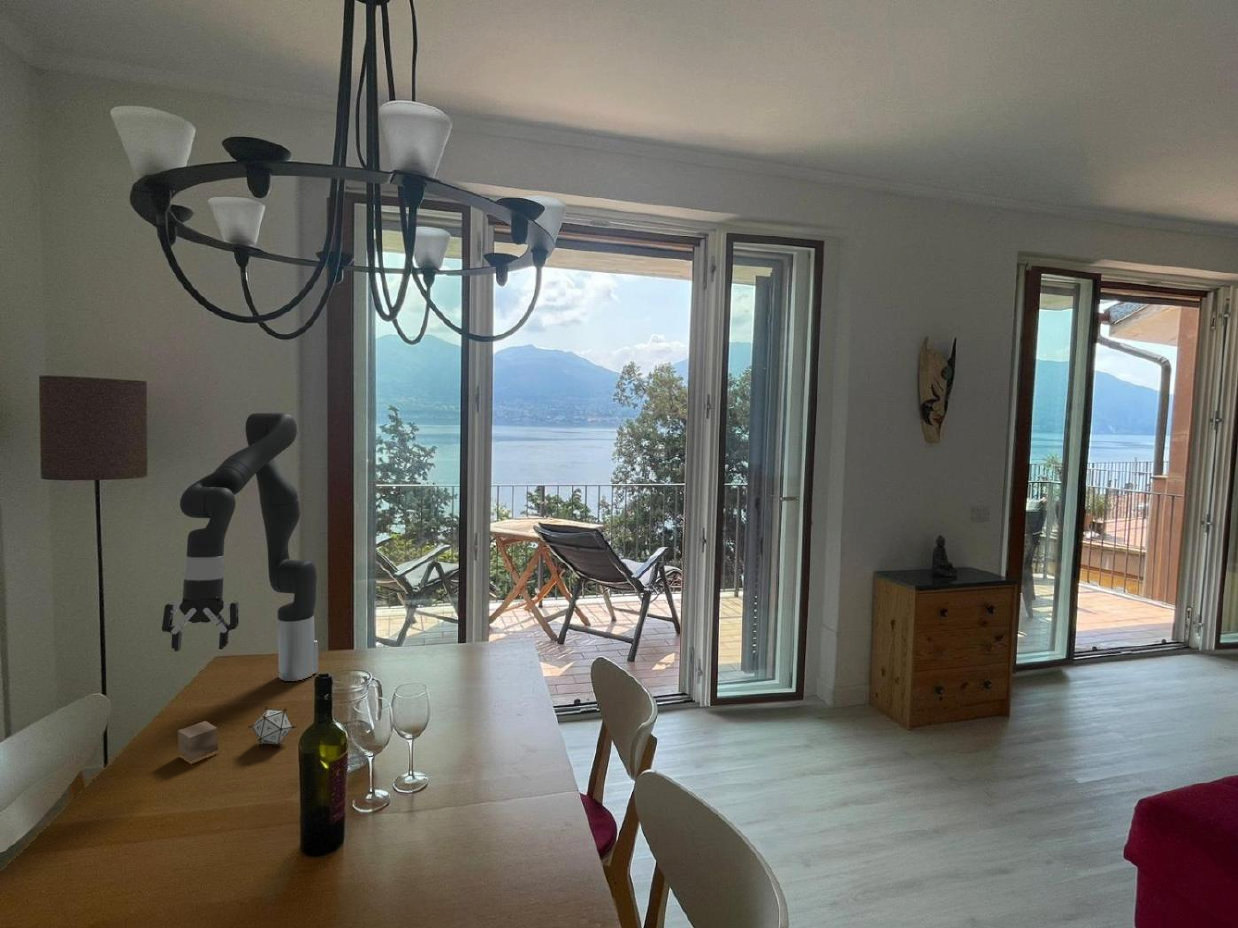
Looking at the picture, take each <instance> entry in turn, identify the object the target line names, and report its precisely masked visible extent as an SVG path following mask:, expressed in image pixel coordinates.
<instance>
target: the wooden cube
mask: <svg viewBox="0 0 1238 928" xmlns="http://www.w3.org/2000/svg"><path fill="white" fill-rule="evenodd" d="M218 738H219V737H218V727H217V726H215V725H213V724H211V723H210V722H208V721H206V720H204V721H201V722H198V723H195V724H193V725H189V726H187V727H184V728H180V729H178V730H177V743H178V744H177V745H178V746H177V748H178V754H179V753H180V754H181V755H182V756H183V757H186V758H187V759H188V760H189V761H192V760H194V759H197V758H199V757H203V756H206V755H207V754H209V753H212V752H214V751H217V750H218V751H219V741H218Z"/></svg>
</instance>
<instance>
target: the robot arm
mask: <svg viewBox="0 0 1238 928" xmlns="http://www.w3.org/2000/svg"><path fill="white" fill-rule="evenodd" d="M297 433H298V427H297V422H296V420H295V419H294V417H293V416H292V415H291V414H288V413H283V412H256V413H254V412H253V413H251V414H249V415H248V417H247V419H246V421H245V436H246V441H247V445H248V446H247V447H245V448H241V449H239V451H236V452H235V453H233V454H231V455H230V456H228V457H227V458H226V459H224V461H222V463H221V464H219V466H218V467H216V469H215V470H214V471H213V472H212V473H210V474H207V475H206V476H205V477H203V478H200V479H199V480H197V481H196V482H194V483H193V484H191V485H190V486H188V487H187V489H185V491H183V493H182V495H181V497H180V501H179V508H180V510H181V512H182V513H183V514H184V515H185V516H186V517H189V518H193V519H194V518H195V519H209V520H208V523H207V524H206V526H205V527H203V528H198V529H197V528H196V529H193V530H191V531H189V532H188V535H187V543H186V544H187V545H186V546H187V547H186V558H185V562H184V567H183V568H184V570H183V586H182V601H181V603H174V602H172V601H171V602H169V603H166V605H164V610H163V617H162V626H161V630H162V632H163V633H164V632H165V633H170V634H171V649H172V650H173V651H174V652H179V651H181V649H182V638H183V637H182V636H183V632H182V630H183V628H184V627H185V626H186V625H188V623H189V622H190V623H192V624H198V623H203V624H204V623H205V624H207V623H210V622H212V624H213V625H214V626H216V627H217V629H218V630H219V631H220V632H219V642H218V650H224V649H225V647H227V646H228V644H229V633H230V631H232V630H235V629H237V627H238V626H239V623H240V622H239V601H238V600H234V601H232V602H230V601H229V602H224V599H223V593H224V590H223V589H224V575H225V560H224V552H225V550H224V549H225V538H226V535H227V532H228V529H229V525H230V522H231V520H232V517H233V515H234V512H235V508H236V497H235V495H237V494H238V493H240V492H241V491H242V490H243V489H244V487H245V486H246V485H248V483H249V482H250V481H251V479H252V478H253V477H254V475H255V477H256V482H257V489H258V494H259V495H258V496H259V502H260V503H259V504H260V510H261V514H262V520H263V525H264V531H265V539H266V546H267V563H268V564H267V566H268V567H267V568H268V578H269V583H270V586H271V589H272V590H273V591H274V592H275V593H280V594H282V593H283V594H293V595H294V596H293V602H289V603H287V604H284V605H283V604H282V606H280V607H279V608H278V609H277V642H278V643H277V644H278V645H277V647H278V648H277V649H278V679H279V678H280V679H281V680H285V681H292V680H298V679H302V678H306V677H308V676H311V675H312V674H313V673H316V672H317V671H318V672H319V644H318V643H319V642H318V640H317V639H315V607H316V602H317V601H316V600H317V568H316V566H315V564H314V563H313V562H311V561H309V560H301V559H300V560H297V559H291V558H290V554H289V541H290V539H291V537H292V534H293V533H294V531H295V529H296V527H297V524H298V523H299V521H300V517H301V509H300V508H301V507H300V502H299V496H298V491H297V489H296V487H295V486H294V485H293V483H292V482H291V481H290V479H289V478H288V477H287V476H286V475H285V473H284V472H282V470H281V469H280V467H279V466H278V465H277V462H276V461H275V458H276V457H277V456H279V455H280V454H281V453H283V451H285V450H287V449H288V448H289V447H291V445H292V444H293V443H294V442H295V440H296V438H297ZM178 609H179V611H180V612H181V613H182V614H183V615H184V616H183V617H182V618H181V619H180V620H179V621H178V622H177V623H176V625H173V620H174V614H175V613H177V612H178ZM223 609H226V612H228V613H229V623H227V622H226V621H225V618H224V617H223V616H222V615H221V614H220V613H221V612H222V610H223ZM316 674H318V673H316ZM316 674H315V675H316ZM280 679H279V680H280ZM281 680H280V681H281Z"/></svg>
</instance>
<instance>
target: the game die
mask: <svg viewBox="0 0 1238 928" xmlns="http://www.w3.org/2000/svg"><path fill="white" fill-rule="evenodd" d="M264 709H265V711H264V712H262V714H261V715H260V716H259V718H258V719H257V720H256V721H255V722H254V723H253V725H248V726H247V727H248V728H249V729H250V728H252V730H253V733H254V734H255V736H256V738H257V742H258V743H261V744H265V745H267V744H268V745H276V746H277V745H280V743H281V742H282V741H283V740H284V739H285V737H286V736H287V735H288V733H289V732H290V731H291V730H292V729H296V728H297V726H296V725H293V724H292V723H291V721H290V719H289V717H288V715H287V710H288V707H286V708H284V709H283V710H280V709H279V710H278V709H269V708H268V706H264Z"/></svg>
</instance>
